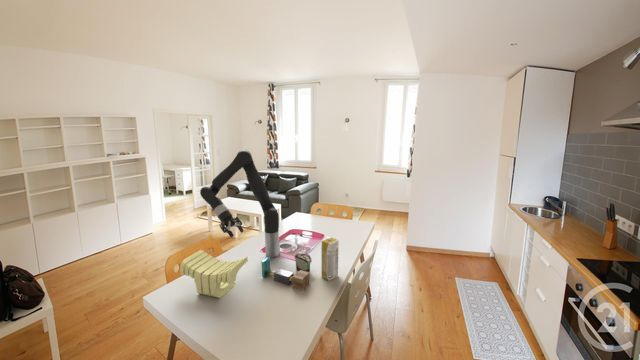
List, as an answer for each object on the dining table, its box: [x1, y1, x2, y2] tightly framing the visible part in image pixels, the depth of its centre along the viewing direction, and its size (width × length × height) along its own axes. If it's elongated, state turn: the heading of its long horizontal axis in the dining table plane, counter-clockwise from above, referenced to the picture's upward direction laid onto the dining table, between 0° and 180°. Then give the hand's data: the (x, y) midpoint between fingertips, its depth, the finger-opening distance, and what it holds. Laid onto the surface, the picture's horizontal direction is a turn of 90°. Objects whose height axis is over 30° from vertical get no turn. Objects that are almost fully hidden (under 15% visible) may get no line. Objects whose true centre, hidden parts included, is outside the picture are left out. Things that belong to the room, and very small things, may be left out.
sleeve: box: [273, 268, 295, 286], centre depth 155 cm, size 5×10×5 cm, turn 63°
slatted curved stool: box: [179, 249, 248, 298], centre depth 145 cm, size 30×16×18 cm, turn 73°
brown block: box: [292, 270, 311, 292], centre depth 150 cm, size 8×6×7 cm
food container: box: [294, 253, 313, 273], centre depth 165 cm, size 12×6×10 cm, turn 47°
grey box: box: [261, 256, 293, 283], centre depth 156 cm, size 6×20×10 cm, turn 64°
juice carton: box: [320, 236, 339, 282], centre depth 158 cm, size 9×8×24 cm
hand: (237, 234), depth 165 cm, fingers open, 8 cm apart
